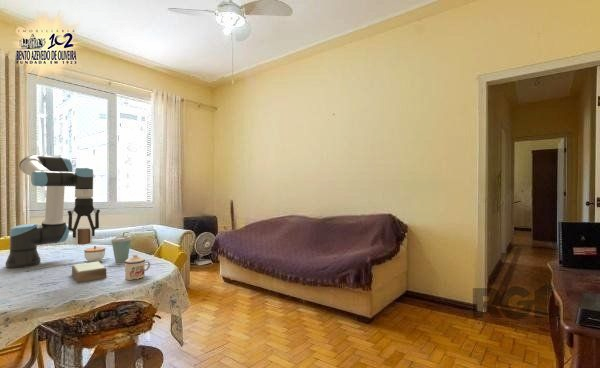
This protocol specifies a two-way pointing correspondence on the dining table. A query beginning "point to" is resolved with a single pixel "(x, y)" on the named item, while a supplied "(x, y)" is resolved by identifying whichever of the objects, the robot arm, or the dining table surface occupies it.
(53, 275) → the dining table surface
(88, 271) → the walnut stand
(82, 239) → the wooden block
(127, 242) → the disposable coffee cup
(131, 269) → the teacup with lid
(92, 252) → the lidded jar
